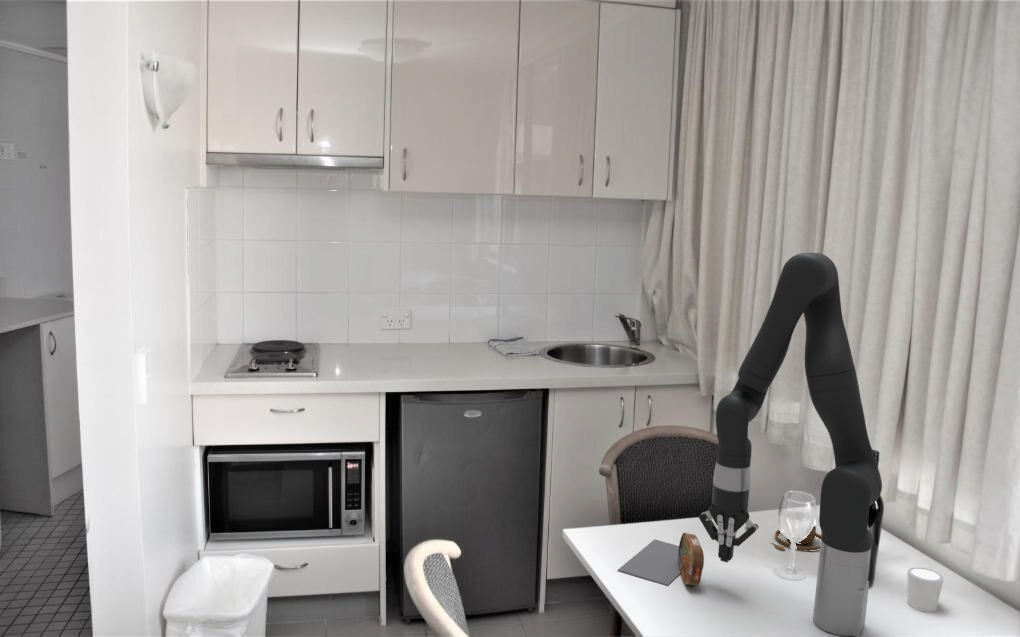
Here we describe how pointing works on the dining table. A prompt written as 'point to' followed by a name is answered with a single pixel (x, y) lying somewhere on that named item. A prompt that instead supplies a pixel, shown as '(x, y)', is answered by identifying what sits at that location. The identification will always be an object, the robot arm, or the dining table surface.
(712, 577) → the dining table surface
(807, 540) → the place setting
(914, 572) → the white cup
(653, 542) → the mat
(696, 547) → the tin
